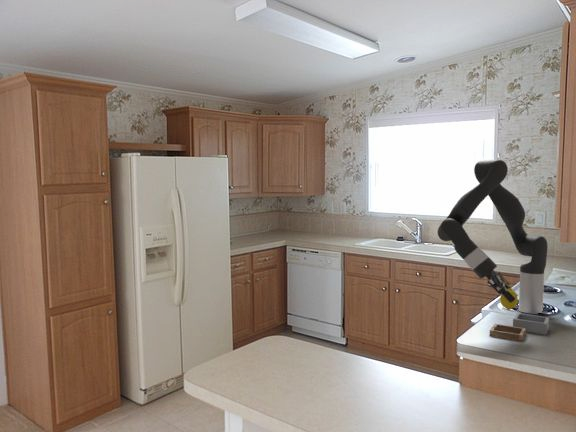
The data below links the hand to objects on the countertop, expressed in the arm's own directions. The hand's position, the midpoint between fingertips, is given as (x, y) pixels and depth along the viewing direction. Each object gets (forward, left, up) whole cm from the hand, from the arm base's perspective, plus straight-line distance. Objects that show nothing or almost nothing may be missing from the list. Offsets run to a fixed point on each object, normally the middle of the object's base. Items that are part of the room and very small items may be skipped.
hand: (514, 299), depth 163 cm
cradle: (0, -2, -13) cm, 13 cm away
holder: (-14, +4, -13) cm, 20 cm away
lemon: (0, -2, -5) cm, 5 cm away
